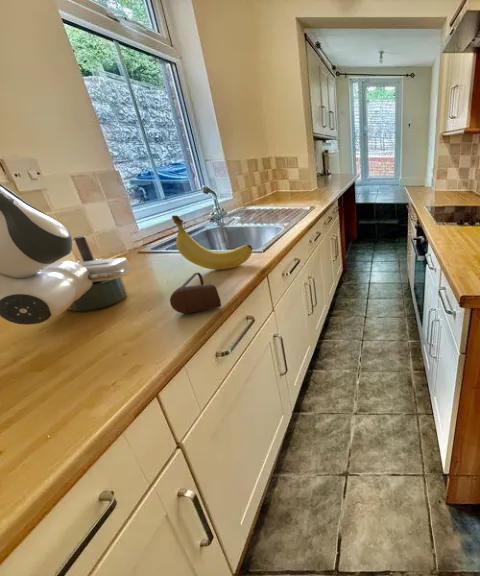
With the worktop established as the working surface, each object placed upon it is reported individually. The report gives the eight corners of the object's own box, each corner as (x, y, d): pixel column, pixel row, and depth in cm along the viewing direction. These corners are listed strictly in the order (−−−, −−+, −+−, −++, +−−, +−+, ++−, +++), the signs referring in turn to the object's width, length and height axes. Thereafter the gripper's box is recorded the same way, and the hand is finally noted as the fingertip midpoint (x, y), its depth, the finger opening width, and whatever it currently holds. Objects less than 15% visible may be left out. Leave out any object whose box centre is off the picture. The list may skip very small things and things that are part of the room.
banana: (253, 260, 121) (243, 207, 112) (256, 265, 116) (246, 210, 108) (184, 272, 110) (168, 214, 102) (185, 277, 105) (168, 217, 97)
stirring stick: (97, 295, 87) (74, 238, 80) (96, 293, 88) (72, 237, 82) (107, 293, 88) (85, 236, 82) (106, 290, 90) (84, 235, 83)
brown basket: (223, 311, 83) (217, 287, 81) (171, 320, 79) (163, 295, 76) (225, 286, 98) (220, 265, 96) (182, 292, 94) (176, 271, 92)
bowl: (71, 318, 81) (59, 293, 78) (64, 302, 89) (53, 279, 86) (133, 300, 90) (125, 277, 87) (121, 288, 98) (113, 266, 95)
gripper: (114, 262, 76) (133, 246, 87) (1, 273, 69) (38, 255, 81) (123, 286, 78) (140, 268, 90) (15, 299, 72) (48, 278, 83)
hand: (91, 262), depth 85 cm, fingers closed on stirring stick, 2 cm apart
